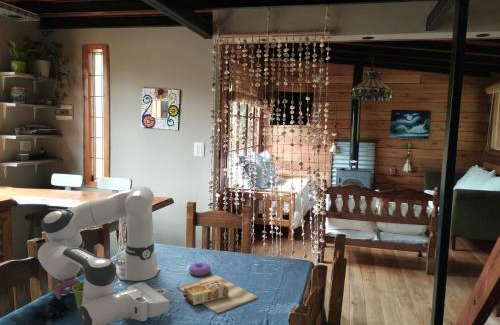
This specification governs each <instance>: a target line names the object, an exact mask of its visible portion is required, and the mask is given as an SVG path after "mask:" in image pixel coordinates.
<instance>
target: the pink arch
mask: <svg viewBox="0 0 500 325" xmlns="http://www.w3.org/2000/svg"><path fill="white" fill-rule="evenodd" d="M80 282H81V281H80V280H78V279H77V278H69V279H66V280H61V281H60V282H58V283H57V284H55V285H54V288H53V290H54V294H55V296H56V299H57V298H61V299H62V295H61V294H68V292H69V293H70V292H74V291H73V290H72V287H73V286H74V285H75V284H77V283H80ZM68 288H69V289H68ZM67 289H68V290H67Z"/></svg>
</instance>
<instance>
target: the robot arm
mask: <svg viewBox="0 0 500 325" xmlns="http://www.w3.org/2000/svg"><path fill="white" fill-rule="evenodd" d="M154 200H155V196H154V193H153V191H152V190H151V188H149V187H147V186H143V185H141V186H137V187H132V188H130V189H126V190H124V191H121V192H118V193H115V194H112V195H109V196H105V197H101V198H97V199H93V200H90V201H87V202H84V203H83V202H82V203H81V204H79V205H77V206H74V207H72V208H71V209H70V210H68V209H56V210H52V211H50V212H48V213H47V214H46V215H44V217H43V218H42V219H41V221H40V222H41V228H42V231H43V232H44V234H45V235H46V238H47V240H49V241H46V242H45V243H42V245H41V246H40V247H39V249H38V251H37V259H38V261H39V263H40V265H41V266H42V268H43V269H44V270H45V271H46V272H47V273H48V274H49V275H50V276H51V277H52V278H54V279H56V280H59V281H64V280H68V279H72V278H73V277H74V276H76V275H77V274H78V273H79V272H80V270H81V269H82V270H83V282H84V285H83V297H82V305H81V306H80V307H79V311H78V310H77V311H78V318H79V322H80V324H81V325H111V324H113V323H115V322H117V321H120V320H126V319H132V320H133V319H134V320H137V321H141V322H145V321H147V320H148V318H154V317H155V318H156V317H158V316H161V315H163V314H166V313H167V312H168V311H169V310H170V300H169V299H168V298H166V297H169V296H170V295H171V293H170V292H171V291H170V290H168V289H167V288H166V287H165V288H162V289H161V288H159V289H158V288H155V289H154V288H152V287H151V286H150V285H148V284H147V283H146V282H144V281H147V280H149V279H153V278H154V277H156V276H157V274H158V272H160V270H161V268H160V267H159V266H158V256H157V253H156V252H155V243H154V221H153V204H154ZM123 218H125V220H126V231H127V232H126V236H127V238H126V241H127V243H126V244H125V250H124V253H122V254H121V255H120V256H119V257H118V258H119V260H117V262H116V264H117V265H116V264H115V263H114V262H113V261H112V260H110V259H108V258H105V257H101V256H98V255H96V254H94V253H92V252H90V251H88V250H86V249H84V247H85V241H84V238H83V237H82V234H81V233H80V231H81V230H84V229H87V228H94V227H98V226H102V225H106V224H109V223H112V222H115V221H119V220H121V219H123ZM116 276H117V278H118V279H119V280H120V281H136V282H137V281H141V282H137V283H133V284H132V285H129V286H127V287H126V289H125V288H124V289H123V290H122V291H119V292H117V293H114V286H115V279H116ZM142 281H143V282H142Z"/></svg>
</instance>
